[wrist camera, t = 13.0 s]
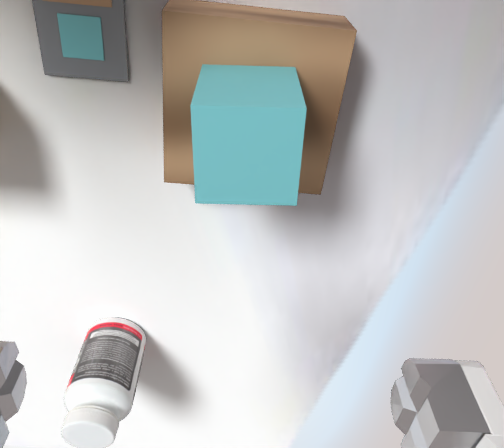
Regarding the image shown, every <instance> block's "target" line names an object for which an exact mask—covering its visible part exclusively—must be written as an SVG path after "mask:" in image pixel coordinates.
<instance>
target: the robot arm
mask: <svg viewBox="0 0 504 448" xmlns="http://www.w3.org/2000/svg"><path fill="white" fill-rule="evenodd" d="M18 353H19V351H18V348H17V346H16V344H15V342H10V341H0V448H3V446H4V444H5V441H6V439H7V437H8V434H9V430H8V427H7V424H6V421H7V420H8V419H10V418H11V417H12V416H13V415H14V414H16V413H17V412H18V411H19V408H20V406H21V403H22V401H23V398H24V394H25V389H26V384H27V381H26V371H25V368H24V365H22V364H21V363H19V362H18V361H17V360H16V358H17V355H18ZM401 369H402V373H403V376H402V377H401V378H399V379H397V380H396V381H395V383H394V385H393V388H392V390H391V391H392V392H391V409H392V415H393V419H394V423H395V425H396V426H397V427H398V428H399V429H400V430H401V431H402V432H403V433H404V434H405V436H404V438H403V441H402V443H401V448H504V406H503V404H502V402H501V400H500V398H499V396H498V394H497V392H496V390H495V388H494V386H493V384H492V382H491V380H490V378H489V376H488V374H487V372H486V370H485V368H484V366H483V365H482V364H481V363H479V362H478V361H457V360H455V361H454V360H450V359H449V360H448V359H447V360H446V359H414V358H409V359H408V360H406V361H405V362H404V364H403V366H402V368H401Z"/></svg>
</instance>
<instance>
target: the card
mask: <svg viewBox="0 0 504 448" xmlns="http://www.w3.org/2000/svg"><path fill="white" fill-rule="evenodd" d="M32 2H33V8H34V14H35V20H36V26H37V32H38V37H39V43H40V49H41V55H42V61H43V67H44V73H45V75H55V76H66V77H78V78H89V79H100V80H112V81H123V82H128V81H129V76H128V60H127V44H126V29H125V13H124V0H32Z"/></svg>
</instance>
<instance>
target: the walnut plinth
mask: <svg viewBox="0 0 504 448" xmlns="http://www.w3.org/2000/svg"><path fill="white" fill-rule="evenodd" d="M356 33H357V30H356V29H355V28H354V27H353V26H352V24H351V23H350V22H349V21H348V20H347V18H346V17H345V16H338V15H329V14H320V13H310V12H301V11H292V10H282V9H273V8H263V7H254V6H245V5H235V4H226V3H217V2H207V1H198V0H169V1H168V3H167V4H166V5H165V7H164V8H163V9H162V60H163V133H164V182H168V183H181V184H193V185H194V166H193V146H192V126H191V107H190V105H191V102H192V98H193V95H194V91H195V88H196V84H197V81H198V78H199V74H200V71H201V67H202V64H208V65H243V66H279V67H295V68H296V71H297V75H298V79H299V82H300V86H301V90H302V93H303V97H304V101H305V104H306V108H307V110H306V119H305V129H304V139H303V149H302V159H301V168H300V178H299V188H298V193H307V194H320V195H321V191H322V186H323V182H324V177H325V173H326V168H327V164H328V159H329V155H330V150H331V146H332V141H333V137H334V132H335V128H336V123H337V119H338V114H339V110H340V105H341V101H342V96H343V91H344V87H345V82H346V78H347V73H348V69H349V64H350V60H351V55H352V51H353V46H354V42H355V37H356Z"/></svg>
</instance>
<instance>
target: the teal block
mask: <svg viewBox="0 0 504 448" xmlns="http://www.w3.org/2000/svg"><path fill="white" fill-rule="evenodd" d="M190 107H191V126H192V146H193V166H194V185H195V203H203V204H247V205H292V206H297V198H298V188H299V178H300V168H301V159H302V149H303V139H304V129H305V119H306V110H307V108H306V104H305V101H304V97H303V93H302V90H301V86H300V82H299V79H298V75H297V71H296V68H295V67H279V66H243V65H208V64H202V67H201V71H200V74H199V78H198V81H197V84H196V88H195V91H194V95H193V98H192V102H191V105H190Z"/></svg>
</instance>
